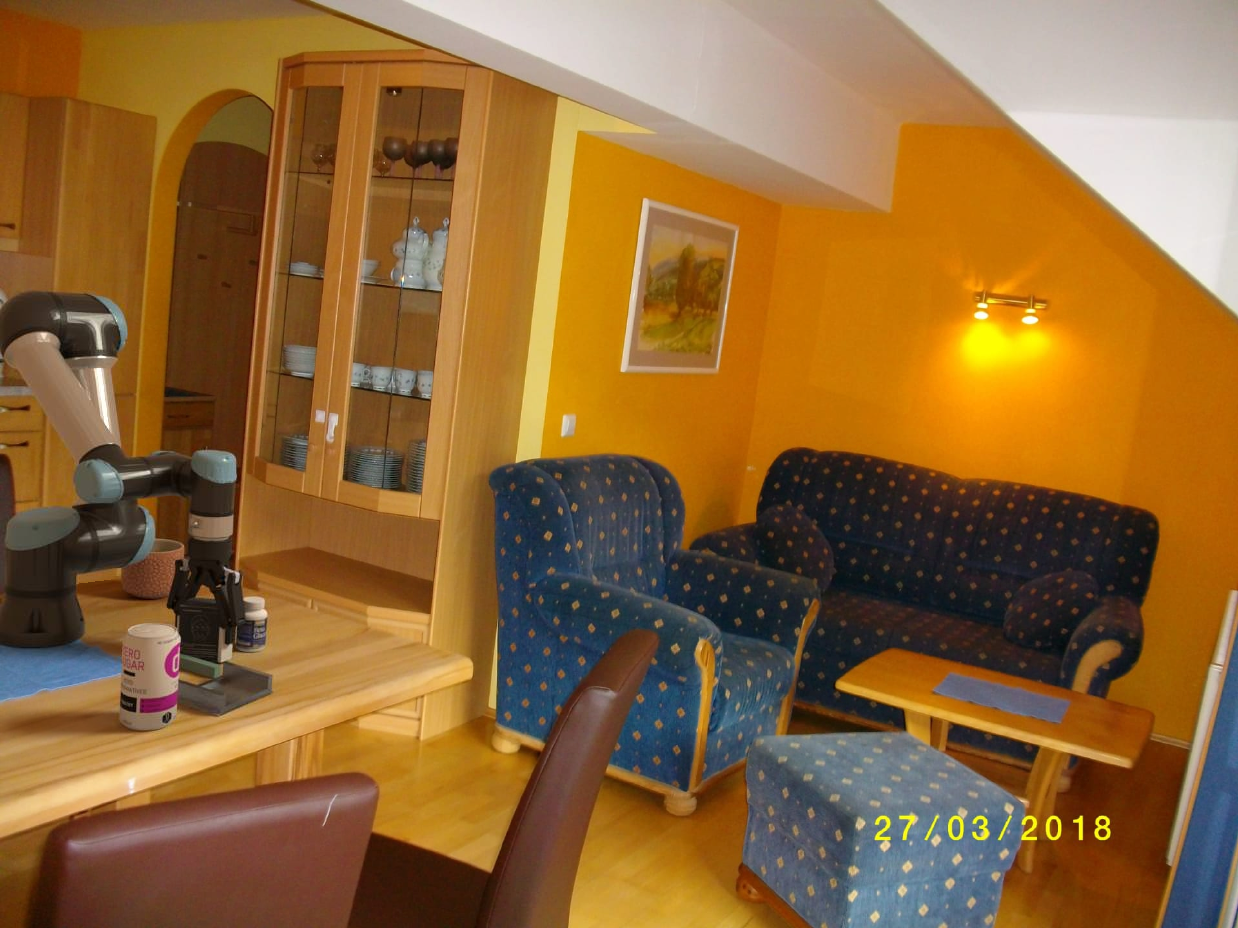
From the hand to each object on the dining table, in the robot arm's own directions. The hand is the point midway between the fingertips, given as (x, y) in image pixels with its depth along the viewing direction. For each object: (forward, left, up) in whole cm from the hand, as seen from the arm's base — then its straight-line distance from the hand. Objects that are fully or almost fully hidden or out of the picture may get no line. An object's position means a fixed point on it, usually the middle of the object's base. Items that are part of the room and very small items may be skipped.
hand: (203, 653), depth 193 cm
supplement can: (+14, -26, -1) cm, 30 cm away
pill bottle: (+3, +9, -1) cm, 10 cm away
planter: (-35, +21, -1) cm, 41 cm away
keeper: (+16, -12, -1) cm, 20 cm away
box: (0, 0, -1) cm, 1 cm away
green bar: (+2, -6, -1) cm, 6 cm away
